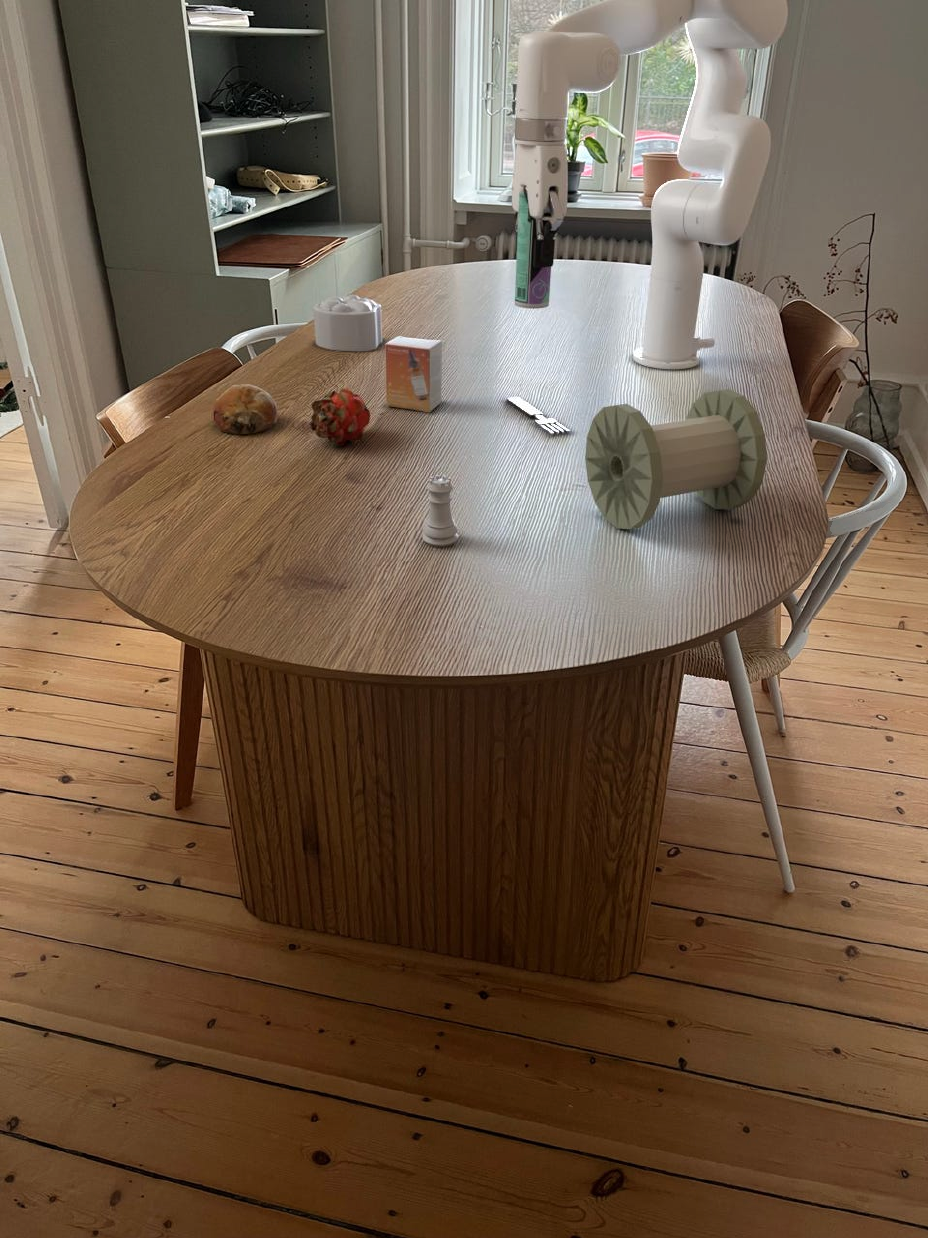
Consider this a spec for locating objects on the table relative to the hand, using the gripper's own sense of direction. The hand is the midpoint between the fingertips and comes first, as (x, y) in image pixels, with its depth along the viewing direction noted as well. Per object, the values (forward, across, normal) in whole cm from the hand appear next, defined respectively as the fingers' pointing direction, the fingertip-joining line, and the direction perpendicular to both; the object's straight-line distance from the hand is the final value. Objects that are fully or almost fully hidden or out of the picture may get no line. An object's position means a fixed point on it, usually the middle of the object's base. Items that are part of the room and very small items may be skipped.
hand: (534, 261), depth 146 cm
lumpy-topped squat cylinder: (+23, +46, +17) cm, 55 cm away
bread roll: (+23, +7, +46) cm, 52 cm away
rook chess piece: (+23, -42, +32) cm, 58 cm away
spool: (+23, -45, +2) cm, 51 cm away
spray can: (+7, 0, 0) cm, 7 cm away
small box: (+23, +6, +18) cm, 30 cm away
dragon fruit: (+23, -5, +34) cm, 41 cm away
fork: (+23, -6, +2) cm, 24 cm away
